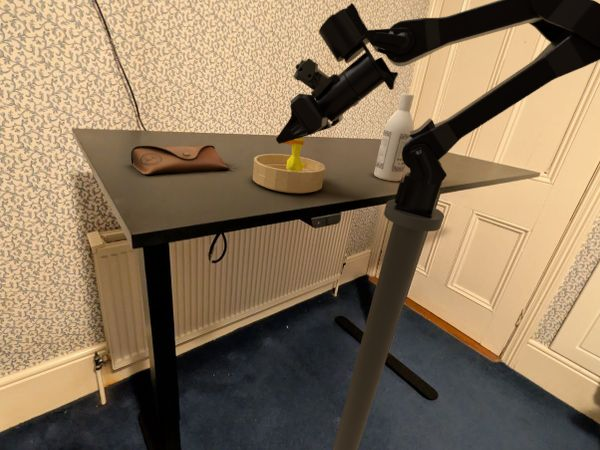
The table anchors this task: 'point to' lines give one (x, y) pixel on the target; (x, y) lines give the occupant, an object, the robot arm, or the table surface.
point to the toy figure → (295, 155)
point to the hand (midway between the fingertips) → (286, 138)
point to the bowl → (287, 174)
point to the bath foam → (395, 141)
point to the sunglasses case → (176, 159)
